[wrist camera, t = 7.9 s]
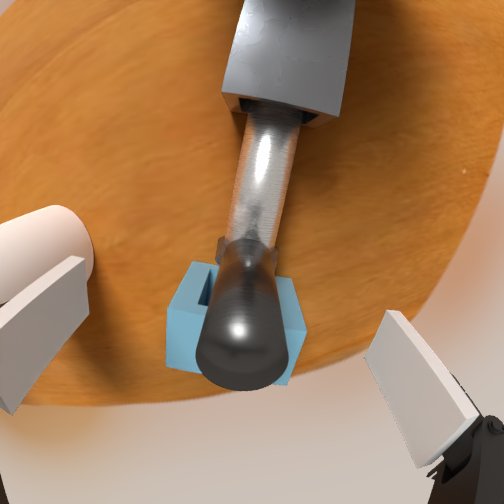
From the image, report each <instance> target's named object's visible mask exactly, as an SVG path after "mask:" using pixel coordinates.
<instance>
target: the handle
mask: <svg viewBox="0 0 504 504" xmlns="http://www.w3.org/2000/svg"><path fill="white" fill-rule="evenodd" d="M303 111H304V110H300V109H295V108H291V107H287V106H282V105H278V104H273V103H268V102H263V101H257V100H252V99H251V104H250V108H249V113H248V118H247V123H246V128H245V133H244V138H243V143H242V148H241V153H240V158H239V163H238V168H237V173H236V179H235V184H234V189H233V195H232V200H231V206H230V212H229V217H228V223H227V229H226V234H225V236H223V237H221V238H219V239H218V244H217V251H216V257H215V260H216V262H217V263H218V264H219V265H220V266H219V269H218V273H217V276H216V280H215V283H214V287H213V290H212V294H211V297H210V301H209V304H208V308H207V311H206V315H205V318H204V322H203V326H202V329H201V333H200V337H199V340H198V344H197V348H196V352H195V358H196V363H197V366H198V368H199V370H200V371H201V372H202V374H203V375H204V376H205V377H206V378H207V379H208V380H210V381H211V382H213V383H214V384H216V385H218V386H220V387H223V388H226V389H229V390H235V391H252V390H258V389H261V388H264V387H266V386H269V385H271V384H272V383H274V382H275V381H277V380H278V379H279V378H280V377H281V376H282V375H283V373H284V372H285V370H286V368H287V366H288V362H289V354H288V348H287V342H286V336H285V330H284V324H283V318H282V313H281V307H280V301H279V296H278V290H277V285H276V279H275V273H274V272H275V269H276V265H277V261H278V257H279V253H280V251H279V249H278V248H277V247H276V246H275V242H276V238H277V233H278V229H279V224H280V220H281V215H282V211H283V206H284V202H285V197H286V193H287V188H288V183H289V179H290V174H291V169H292V164H293V160H294V155H295V150H296V145H297V140H298V135H299V131H300V126H301V121H302V116H303Z"/></svg>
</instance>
